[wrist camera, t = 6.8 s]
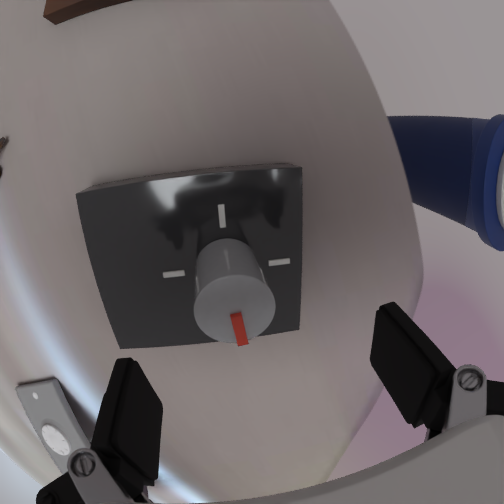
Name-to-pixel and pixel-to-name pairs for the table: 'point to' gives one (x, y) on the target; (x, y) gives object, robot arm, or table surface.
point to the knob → (231, 293)
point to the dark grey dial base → (189, 244)
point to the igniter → (73, 8)
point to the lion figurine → (0, 144)
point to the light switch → (52, 420)
